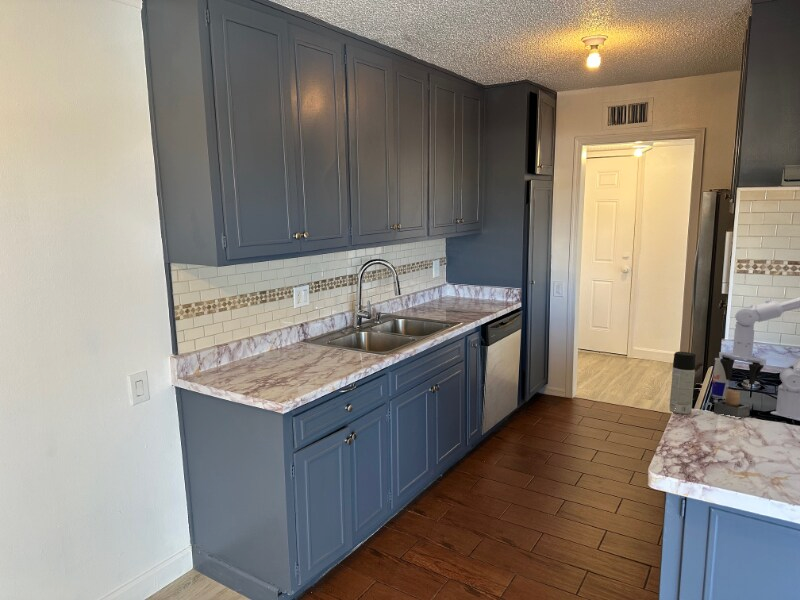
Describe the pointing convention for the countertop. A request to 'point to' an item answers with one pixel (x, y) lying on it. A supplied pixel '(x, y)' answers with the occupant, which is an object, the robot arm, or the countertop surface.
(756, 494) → the countertop surface
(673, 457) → the countertop surface
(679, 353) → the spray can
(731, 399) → the peg
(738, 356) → the robot arm
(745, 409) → the socket
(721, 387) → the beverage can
